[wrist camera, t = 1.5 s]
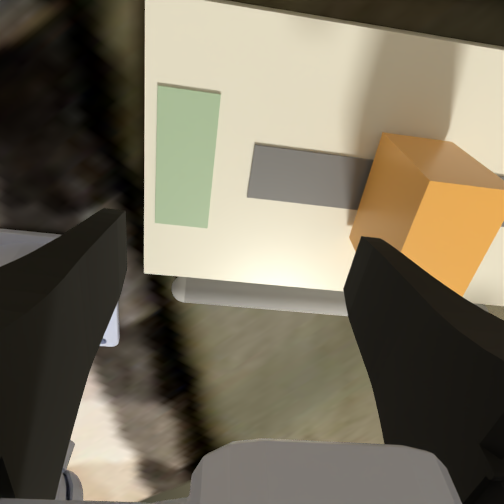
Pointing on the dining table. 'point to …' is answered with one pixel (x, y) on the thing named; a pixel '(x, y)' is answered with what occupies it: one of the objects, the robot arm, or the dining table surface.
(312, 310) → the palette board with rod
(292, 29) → the breaker panel
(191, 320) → the dining table surface
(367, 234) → the block
